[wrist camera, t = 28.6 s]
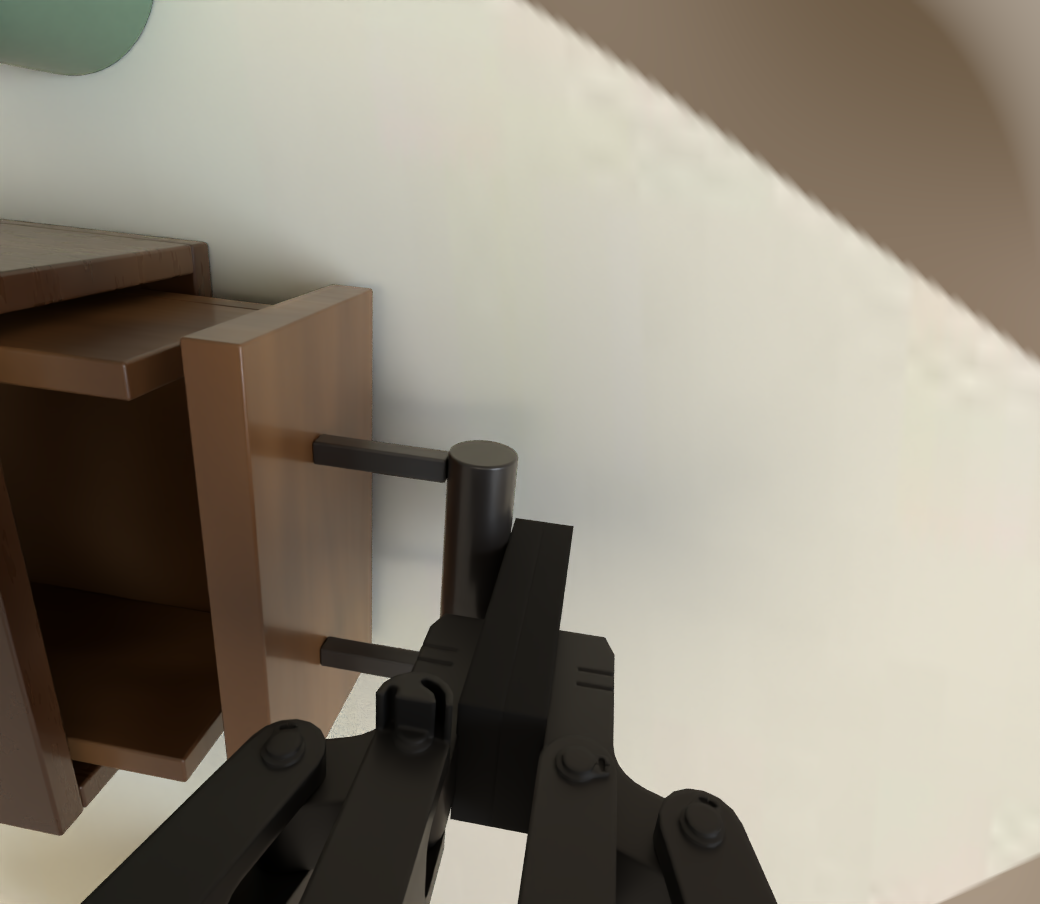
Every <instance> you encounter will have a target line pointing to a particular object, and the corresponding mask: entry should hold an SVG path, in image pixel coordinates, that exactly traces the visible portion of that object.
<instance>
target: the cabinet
mask: <svg viewBox="0 0 1040 904" xmlns="http://www.w3.org/2000/svg"><path fill="white" fill-rule="evenodd" d="M127 287H130V288H138V289H146V290H154V291H163V292H171V293H179V294H187V295H195V296H204V297H212V288H211V277H210V266H209V255H208V245H207V244H206V243H204V242H198V241H189V240H180V239H172V238H163V237H154V236H145V235H136V234H128V233H119V232H110V231H101V230H92V229H84V228H75V227H66V226H57V225H48V224H40V223H31V222H22V221H13V220H4V219H0V314H4V313H9V312H13V311H18V310H23V309H28V308H32V307H37V306H42V305H46V304H51V303H56V302H61V301H65V300H70V299H75V298H79V297H84V296H89V295H94V294H98V293H103V292H108V291H113V290H117V289H122V288H127ZM118 770H119V769H116V768H111V767H106V766H101V765H96V764H91V763H86V762H81V761H76V760H72V758H71V754H70V749H69V745H68V741H67V737H66V733H65V728H64V724H63V720H62V716H61V712H60V707H59V703H58V699H57V695H56V690H55V686H54V682H53V678H52V674H51V669H50V665H49V661H48V657H47V653H46V648H45V644H44V640H43V636H42V632H41V627H40V623H39V619H38V615H37V610H36V606H35V602H34V598H33V594H32V589H31V585H30V581H29V577H28V573H27V568H26V564H25V560H24V556H23V552H22V547H21V543H20V539H19V535H18V530H17V526H16V522H15V518H14V514H13V509H12V505H11V501H10V497H9V493H8V488H7V484H6V480H5V476H4V472H3V467H2V463H1V459H0V823H2V824H7V825H11V826H16V827H21V828H25V829H30V830H35V831H40V832H44V833H49V834H54V835H58V836H60V835H63V834H64V833H65V831H66V830H67V829H68V828H69V827H70V826H71V824H72V823H73V822H74V821H75V820H76V819H77V818H78V816H79V815H80V814H81V813H82V811H83V808H84V807H86V806H88V804H89V803H90V802H91V801H92V800H93V799H94V798H95V796H96V795H97V794H98V793H99V792H100V791H101V789H102V788H103V787H104V786H105V785H106V784H107V782H108V781H109V780H110V779H111V778H112V777H113V775H114V774H115V773H116V772H117V771H118Z"/></svg>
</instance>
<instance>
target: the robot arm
mask: <svg viewBox="0 0 1040 904" xmlns="http://www.w3.org/2000/svg"><path fill="white" fill-rule="evenodd" d="M572 534H573V526H567V525H560V524H553V523H547V522H540V521H533V520H526V519H519V518H516V519H515V523H514V526H513V529H512V532H511V536H510V539H509V542H508V545H507V548H506V551H505V555H504V558H503V561H502V564H501V567H500V571H499V574H498V577H497V580H496V584H495V587H494V590H493V593H492V596H491V600H490V603H489V606H488V609H487V612H486V616H485V619H478V618H471V617H465V616H459V615H453V614H447V613H446V614H444V615H443V616H442V617H441V618H440V619H438V620H437V621H436V622H435V623H434V624H433V625H431V626H430V628H429V631H428V633H427V635H426V638H425V640H424V642H423V646H422V647H421V649H420V652H419V654H418V656H417V660H416V661H415V663H414V666H413V668H412V670H411V672H407V673H403V674H399V675H396V676H394V677H392V678H391V679H389V680H387V681H386V682H384V683H383V684H382V686H381V687H380V688H379V689H378V691H377V692H376V729H374V730H372V731H370V732H367V733H365V734H362V735H357V736H352V737H344V738H333V739H325V737H324V735H323V733H322V731H321V729H320V728H318V727H317V726H315V725H314V724H313V723H311V722H308V721H304V720H299V719H289V720H280V721H277V722H275V723H272V724H269V725H267V726H265V727H263V728H262V729H260V730H259V731H258V732H256V733H255V734H254V735H252V736H251V737H250V738H249V739H248V740H247V741H246V742H245V743H244V744H243V745H242V746H241V747H240V748H239V749H238V750H237V751H236V752H235V753H234V754H233V755H232V756H231V757H230V758H229V759H228V760H227V761H226V762H225V763H224V764H223V765H222V766H221V767H220V768H219V769H218V770H217V771H215V772H214V773H213V774H212V775H211V776H210V777H209V778H208V779H207V780H206V781H205V782H204V783H203V784H202V785H201V786H200V787H199V788H198V789H197V790H196V791H195V792H194V793H193V794H192V795H191V796H190V797H189V798H188V799H187V800H186V801H185V802H184V803H183V804H182V805H181V806H180V807H179V808H178V809H177V810H176V811H175V812H174V813H173V814H172V815H171V816H170V817H169V818H168V819H167V820H165V821H164V822H163V823H162V824H161V825H160V826H159V827H158V828H157V829H156V830H155V831H154V832H153V833H152V834H151V835H150V836H149V837H148V838H147V839H146V840H145V841H144V842H143V843H142V844H141V845H140V846H139V847H138V848H137V849H136V850H135V851H134V852H133V853H132V854H131V855H130V856H129V857H128V858H127V859H126V860H125V861H124V862H123V863H122V864H121V865H120V866H119V867H118V868H117V869H116V870H114V871H113V872H112V873H111V874H110V875H109V876H108V877H107V878H106V879H105V880H104V881H103V882H102V883H101V884H100V885H99V886H98V887H97V888H96V889H95V890H94V891H93V892H92V893H91V894H90V895H89V896H88V897H87V898H86V899H85V900H84V901H83V902H82V903H81V904H429V903H430V900H431V896H432V892H433V888H434V884H435V880H436V877H437V873H438V869H439V865H440V861H441V858H442V854H443V850H444V839H445V827H446V824H447V820H448V816H449V813H450V809H451V818H450V819H454V820H459V821H464V822H469V823H475V824H480V825H485V826H490V827H495V828H501V829H506V830H511V831H516V832H521V833H527V834H528V836H527V843H526V850H525V857H524V864H523V871H522V878H521V885H520V892H519V898H518V904H777V902H776V899H775V897H774V895H773V893H772V890H771V888H770V886H769V884H768V881H767V879H766V877H765V875H764V872H763V870H762V868H761V865H760V863H759V861H758V859H757V856H756V854H755V852H754V850H753V847H752V845H751V843H750V841H749V838H748V836H747V834H746V832H745V829H744V827H743V825H742V823H741V822H740V820H739V819H738V817H737V815H736V814H735V812H734V811H733V810H732V809H731V808H730V807H729V806H728V805H727V804H725V803H724V802H723V801H722V800H721V799H720V798H718V797H716V796H713V795H711V794H709V793H707V792H705V791H701V790H694V789H683V790H678V791H674V792H673V793H671V794H670V795H669V796H667V797H666V798H663V797H661V796H659V795H657V794H655V793H653V792H651V791H649V790H647V789H645V788H643V787H642V786H640V785H638V784H637V783H635V782H634V781H633V780H632V779H630V778H629V777H628V776H627V775H626V774H625V773H624V771H623V770H622V769H621V767H620V766H619V764H618V762H617V760H616V757H615V755H614V748H613V725H614V653H613V651H612V650H611V648H610V646H609V644H608V642H607V640H606V638H605V637H598V636H592V635H586V634H580V633H574V632H568V631H561V630H559V629H560V621H561V614H562V607H563V599H564V592H565V585H566V577H567V570H568V563H569V556H570V548H571V541H572Z"/></svg>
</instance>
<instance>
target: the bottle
mask: <svg viewBox="0 0 1040 904" xmlns="http://www.w3.org/2000/svg"><path fill="white" fill-rule="evenodd" d="M152 3H153V0H0V63H2V64H7V65H13V66H18V67H23V68H28V69H34V70H39V71H44V72H49V73H54V74H61V75H70V76H71V75H85V74H90V73H94V72H97V71H100V70H102V69H104V68H107V67H109V66H110V65H112V64H113V63H115V62H116V61H118V60H119V59H120V58H121V57H123V56H124V55H125V54H126V53H127V52H128V51H129V50H130V49H131V47H132V46H133V45H134V43H135V42H136V41H137V39H138V38H139V36H140V34H141V32H142V30H143V29H144V27H145V24H146V22H147V19H148V17H149V14H150V11H151V7H152Z"/></svg>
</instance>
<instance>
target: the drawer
mask: <svg viewBox="0 0 1040 904" xmlns="http://www.w3.org/2000/svg"><path fill="white" fill-rule="evenodd" d="M372 316H373V291H372V289H369V288H361V287H352V286H344V285H335V284H332V285H329V286H326V287H323V288H320V289H317V290H314V291H312V292H309V293H306V294H303V295H300V296H297V297H294V298H292V299H289V300H286V301H283V302H280V303H277V304H274V305H269V304H261V303H253V302H244V301H236V300H228V299H220V298H212V297H204V296H195V295H187V294H179V293H171V292H163V291H154V290H146V289H138V288H130V287H127V288H122V289H117V290H113V291H108V292H103V293H98V294H94V295H89V296H84V297H79V298H75V299H70V300H65V301H61V302H56V303H51V304H46V305H42V306H37V307H32V308H28V309H23V310H18V311H13V312H9V313H4V314H0V459H1V463H2V467H3V472H4V476H5V480H6V484H7V488H8V493H9V497H10V501H11V505H12V509H13V514H14V518H15V522H16V526H17V530H18V535H19V539H20V543H21V547H22V552H23V556H24V560H25V564H26V568H27V573H28V577H29V581H30V585H31V589H32V594H33V598H34V602H35V606H36V610H37V615H38V619H39V623H40V627H41V632H42V636H43V640H44V644H45V648H46V653H47V657H48V661H49V665H50V669H51V674H52V678H53V682H54V686H55V690H56V695H57V699H58V703H59V707H60V712H61V716H62V720H63V724H64V728H65V733H66V737H67V741H68V745H69V749H70V754H71V758H72V760H76V761H81V762H86V763H91V764H96V765H101V766H106V767H111V768H116V769H121V770H126V771H131V772H136V773H141V774H146V775H151V776H156V777H161V778H166V779H171V780H176V781H181V782H186V781H187V780H188V779H189V778H190V776H191V775H192V773H193V772H194V771H195V769H196V768H197V767H198V765H199V764H200V762H201V761H202V760H203V758H204V757H205V756H206V754H207V753H208V751H209V750H210V749H211V747H212V746H213V745H214V743H215V742H216V741H217V739H218V738H219V736H220V735H221V734H222V732H223V731H224V736H225V745H226V754H227V760H228V759H229V758H230V757H231V756H232V755H233V754H234V753H235V752H236V751H237V750H238V749H239V748H240V747H241V746H242V745H243V744H244V743H245V742H246V741H247V740H248V739H249V738H250V737H251V736H252V735H254V734H255V733H256V732H258V731H259V730H260V729H262V728H263V727H265V726H267V725H269V724H272V723H275V722H277V721H280V720H289V719H299V720H304V721H308V722H311V723H313V724H314V725H315V726H317V727H318V728H320V729H321V731H322V733H323V735H324V737H325V738H326V737H327V735H328V733H329V731H330V729H331V727H332V725H333V724H334V722H335V720H336V718H337V716H338V714H339V712H340V710H341V709H342V707H343V705H344V703H345V701H346V699H347V697H348V695H349V694H350V692H351V690H352V688H353V686H354V684H355V682H356V680H357V679H358V677H359V675H360V673H366V674H371V675H377V676H383V677H388V678H392V677H394V676H396V675H399V674H403V673H407V672H411V670H412V668H413V666H414V663H415V661H416V660H417V656H418V654H419V651H413V650H407V649H401V648H395V647H389V646H384V645H378V644H372V473H379V474H385V475H392V476H399V477H406V478H413V479H420V480H427V481H433V482H440V483H443V482H445V481H446V479H447V489H446V509H445V528H444V547H443V567H442V586H441V606H440V618H441V617H442V616H443V615H444V614H446V613H447V614H453V615H459V616H465V617H471V618H478V619H485V616H486V612H487V609H488V606H489V603H490V600H491V596H492V593H493V590H494V587H495V584H496V580H497V577H498V574H499V571H500V567H501V564H502V561H503V558H504V555H505V551H506V548H507V545H508V542H509V539H510V536H511V527H512V516H513V506H514V496H515V485H516V475H517V465H518V456H517V453H516V452H515V451H514V450H513V449H512V448H510V447H508V446H506V445H504V444H501V443H497V442H492V441H483V440H474V441H465V442H461V443H458V444H456V445H454V446H453V447H451V449H450V450H449V452H448V451H441V450H434V449H427V448H420V447H412V446H405V445H398V444H391V443H384V442H377V441H372Z"/></svg>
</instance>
